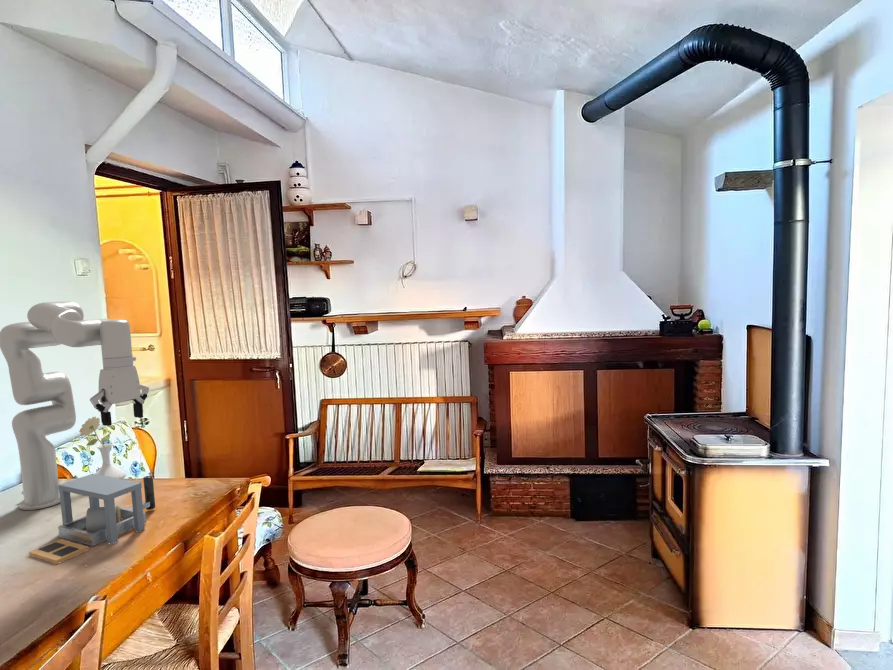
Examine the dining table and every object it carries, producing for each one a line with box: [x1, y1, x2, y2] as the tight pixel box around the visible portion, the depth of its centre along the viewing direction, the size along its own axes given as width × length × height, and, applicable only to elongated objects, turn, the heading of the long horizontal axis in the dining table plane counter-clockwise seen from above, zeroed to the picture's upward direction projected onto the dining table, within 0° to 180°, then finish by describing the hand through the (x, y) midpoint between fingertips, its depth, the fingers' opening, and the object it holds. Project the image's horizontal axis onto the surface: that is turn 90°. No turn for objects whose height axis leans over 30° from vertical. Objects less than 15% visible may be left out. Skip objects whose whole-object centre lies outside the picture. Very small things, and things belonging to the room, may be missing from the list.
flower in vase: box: [78, 416, 127, 480], centre depth 201 cm, size 13×11×25 cm
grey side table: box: [58, 473, 146, 545], centre depth 161 cm, size 22×10×14 cm, turn 64°
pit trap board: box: [28, 538, 89, 565], centre depth 149 cm, size 12×8×1 cm, turn 64°
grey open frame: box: [57, 475, 156, 547], centre depth 165 cm, size 15×24×10 cm, turn 154°
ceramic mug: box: [85, 505, 122, 533], centre depth 162 cm, size 11×8×8 cm
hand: (123, 421), depth 163 cm, fingers open, 9 cm apart
